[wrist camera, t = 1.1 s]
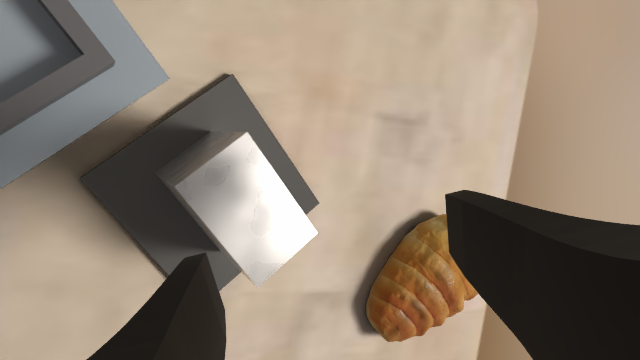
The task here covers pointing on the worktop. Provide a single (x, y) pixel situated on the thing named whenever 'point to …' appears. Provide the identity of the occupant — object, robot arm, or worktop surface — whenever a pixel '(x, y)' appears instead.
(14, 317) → the worktop surface
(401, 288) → the pastry
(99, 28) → the pallet
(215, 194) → the metal billet
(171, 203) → the mat
